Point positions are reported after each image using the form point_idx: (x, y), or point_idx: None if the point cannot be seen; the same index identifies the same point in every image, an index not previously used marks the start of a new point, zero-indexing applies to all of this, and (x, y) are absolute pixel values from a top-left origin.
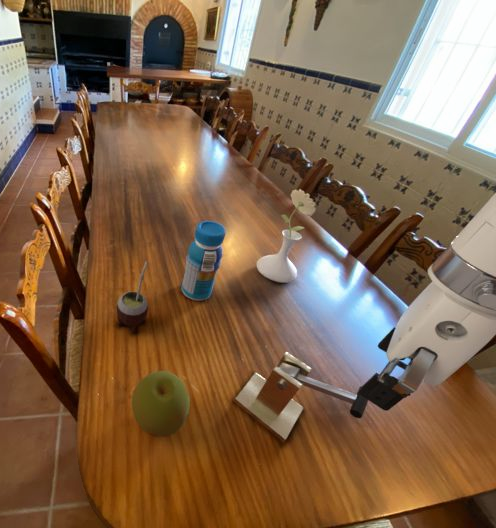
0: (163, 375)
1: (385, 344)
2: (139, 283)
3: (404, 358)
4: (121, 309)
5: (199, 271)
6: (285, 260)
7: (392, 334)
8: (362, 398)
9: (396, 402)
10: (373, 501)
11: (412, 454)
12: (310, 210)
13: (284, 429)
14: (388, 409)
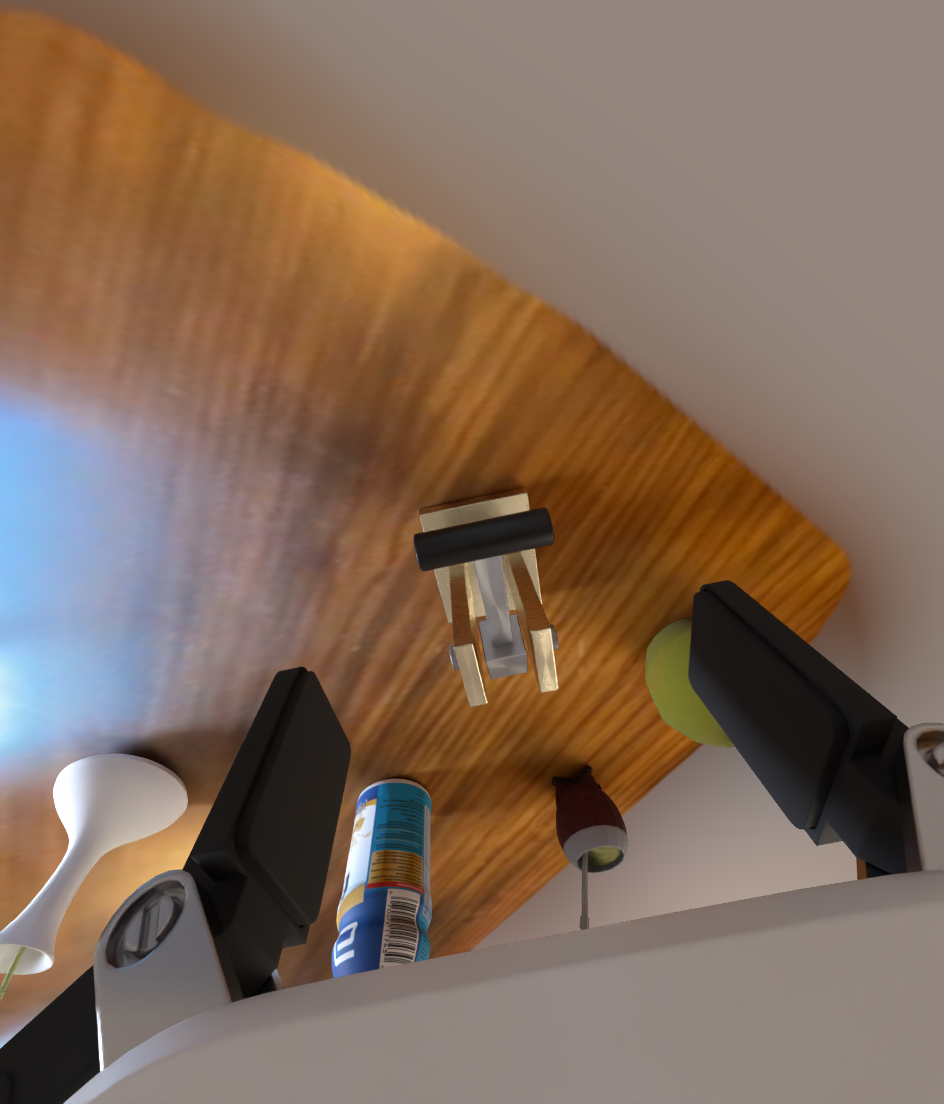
0: (718, 742)
1: (338, 781)
2: (587, 903)
3: (304, 687)
4: (627, 843)
5: (422, 891)
6: (88, 833)
7: (322, 889)
8: (485, 551)
9: (792, 637)
10: (457, 277)
11: (224, 257)
12: None
13: (509, 508)
14: (735, 587)
